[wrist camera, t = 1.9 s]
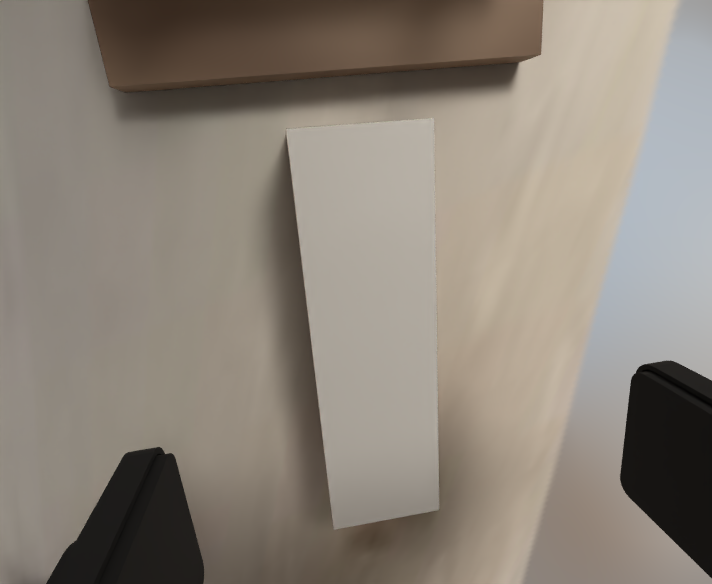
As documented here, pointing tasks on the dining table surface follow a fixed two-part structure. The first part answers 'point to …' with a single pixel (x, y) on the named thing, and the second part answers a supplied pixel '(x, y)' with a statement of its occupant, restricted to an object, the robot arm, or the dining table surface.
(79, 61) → the dining table surface
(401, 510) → the white rectangular block
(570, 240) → the dining table surface
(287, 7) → the walnut rack
